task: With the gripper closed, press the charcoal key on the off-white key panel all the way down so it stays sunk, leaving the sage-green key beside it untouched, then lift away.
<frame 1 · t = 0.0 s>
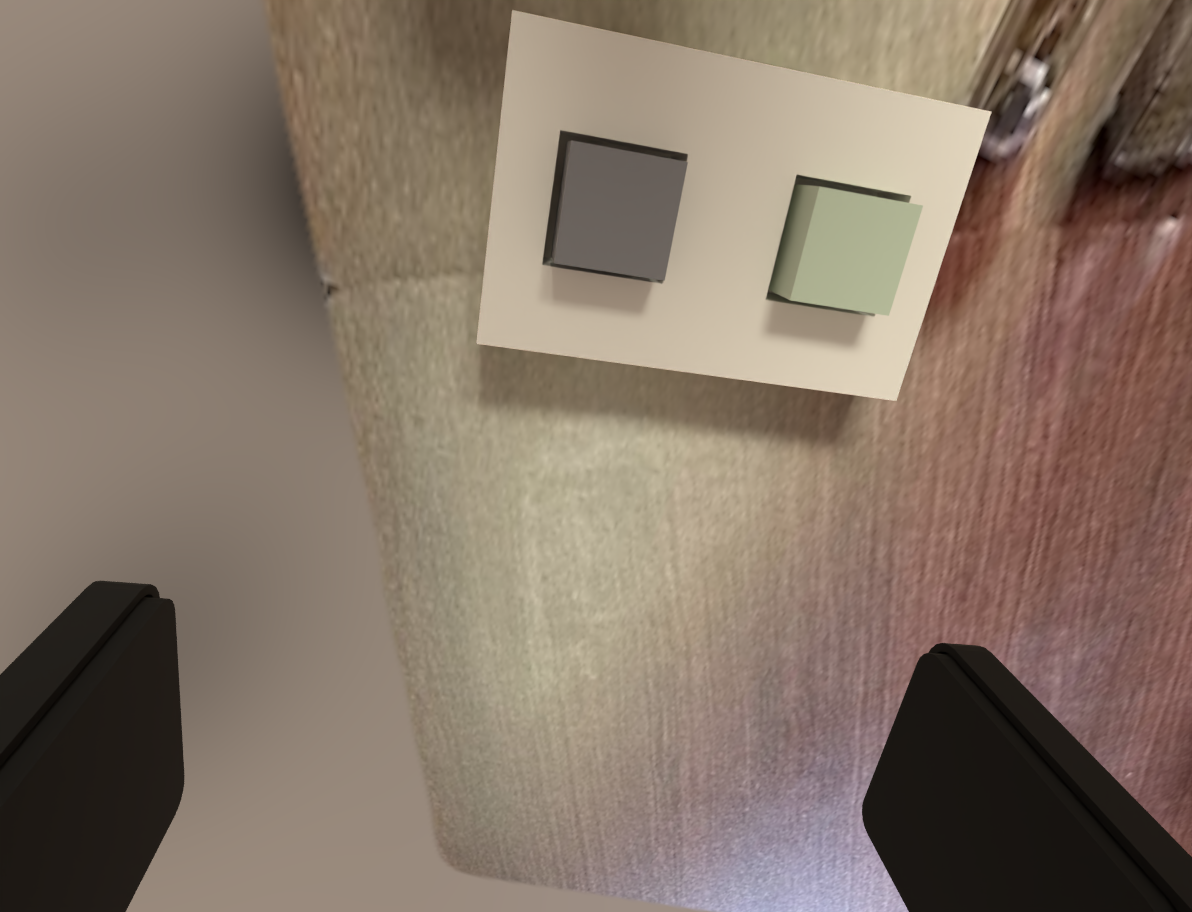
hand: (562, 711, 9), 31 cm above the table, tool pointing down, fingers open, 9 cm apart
key panel: (707, 223, 37), on the table
charcoal key: (615, 211, 32), point 4 cm above the table, slide at 0.0 cm
sage key: (841, 249, 34), point 4 cm above the table, slide at 0.0 cm
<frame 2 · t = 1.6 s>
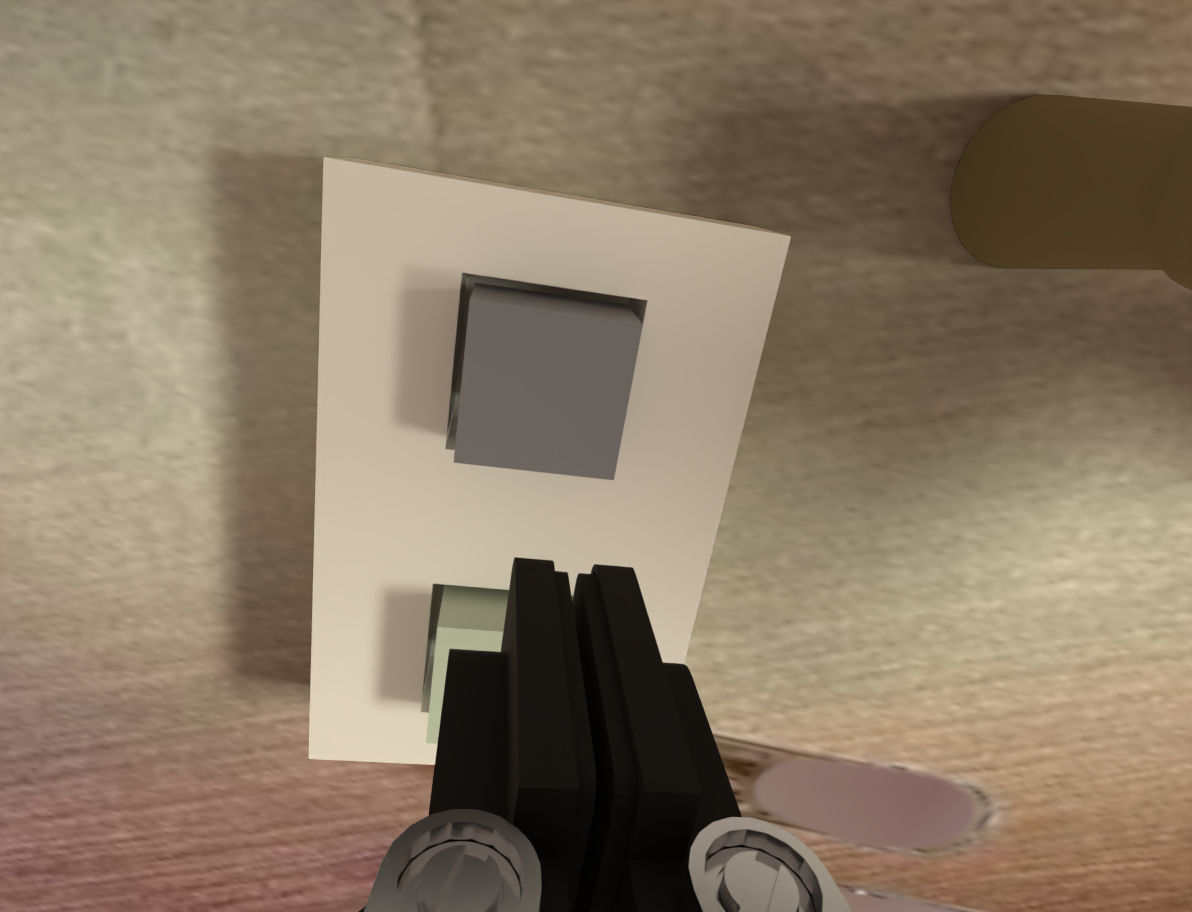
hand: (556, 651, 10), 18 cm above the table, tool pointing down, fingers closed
key panel: (522, 480, 29), on the table
charcoal key: (544, 381, 23), point 4 cm above the table, slide at 0.0 cm
sage key: (504, 664, 27), point 4 cm above the table, slide at 0.0 cm
brown pawn: (1025, 185, 27), on the table
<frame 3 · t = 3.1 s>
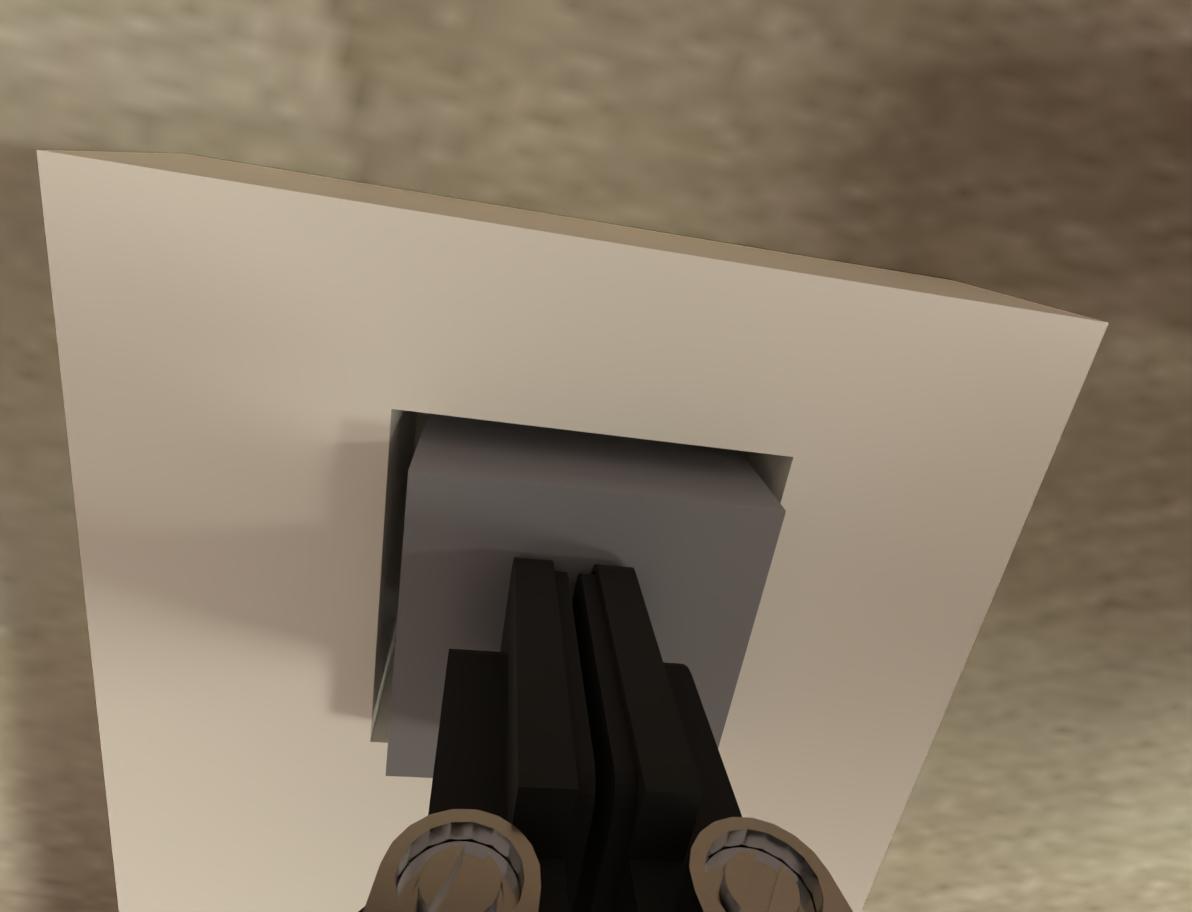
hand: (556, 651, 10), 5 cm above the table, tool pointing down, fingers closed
key panel: (524, 708, 17), on the table
charcoal key: (568, 592, 12), point 4 cm above the table, slide at 0.9 cm, touching gripper
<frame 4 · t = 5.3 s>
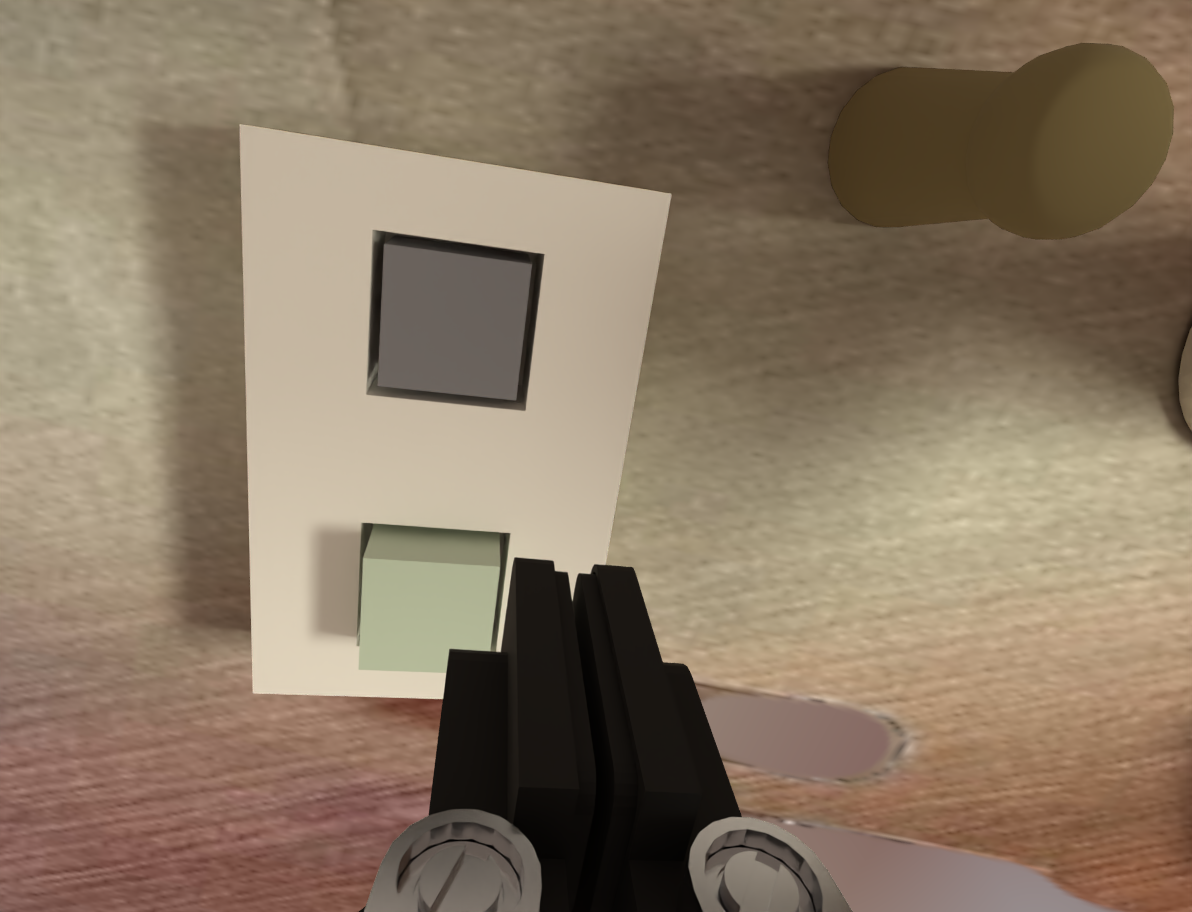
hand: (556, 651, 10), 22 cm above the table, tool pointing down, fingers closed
key panel: (447, 431, 31), on the table
charcoal key: (455, 317, 27), point 3 cm above the table, slide at 1.9 cm
sage key: (431, 597, 29), point 4 cm above the table, slide at 0.0 cm
brown pawn: (896, 150, 30), on the table
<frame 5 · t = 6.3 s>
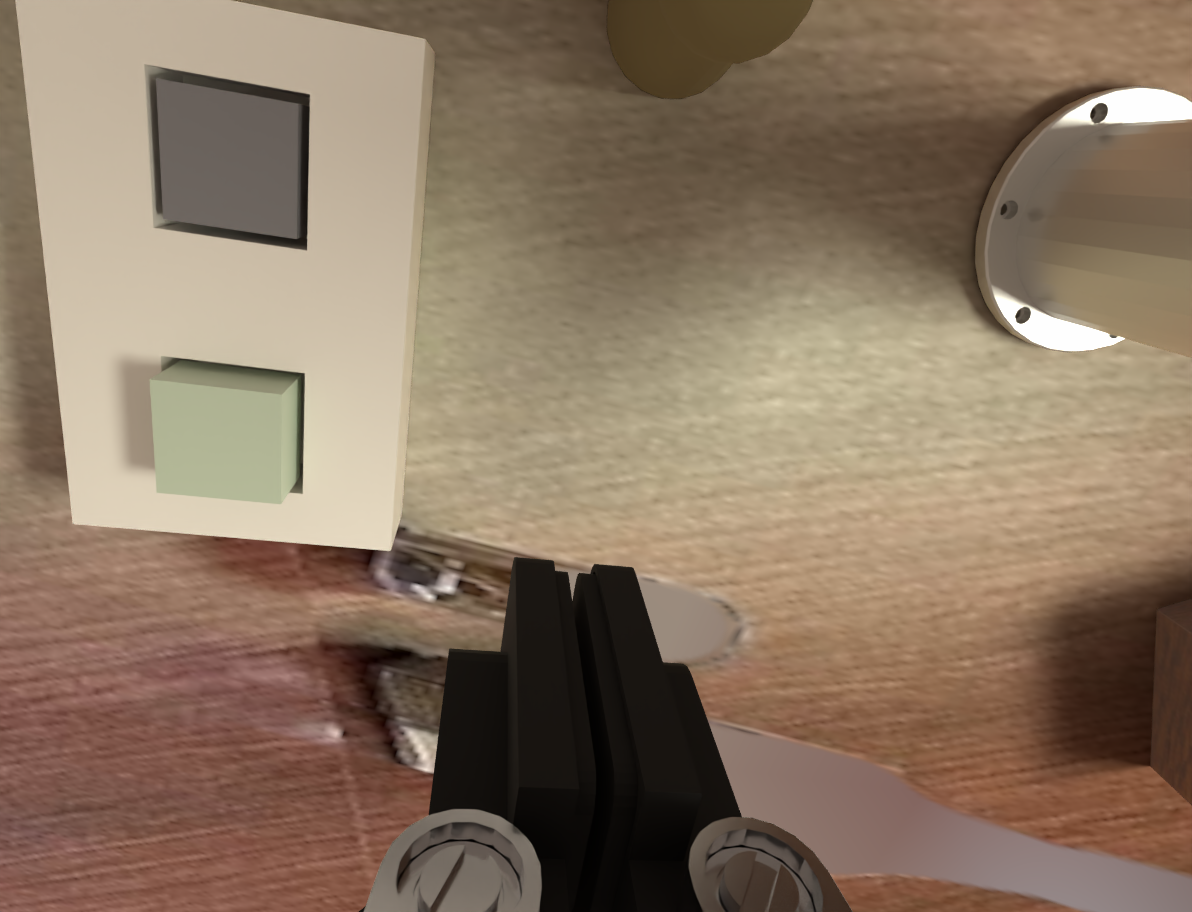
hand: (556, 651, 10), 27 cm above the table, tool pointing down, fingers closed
key panel: (263, 288, 34), on the table
charcoal key: (242, 162, 29), point 3 cm above the table, slide at 1.9 cm
sage key: (231, 432, 31), point 4 cm above the table, slide at 0.0 cm
brown pawn: (674, 22, 32), on the table
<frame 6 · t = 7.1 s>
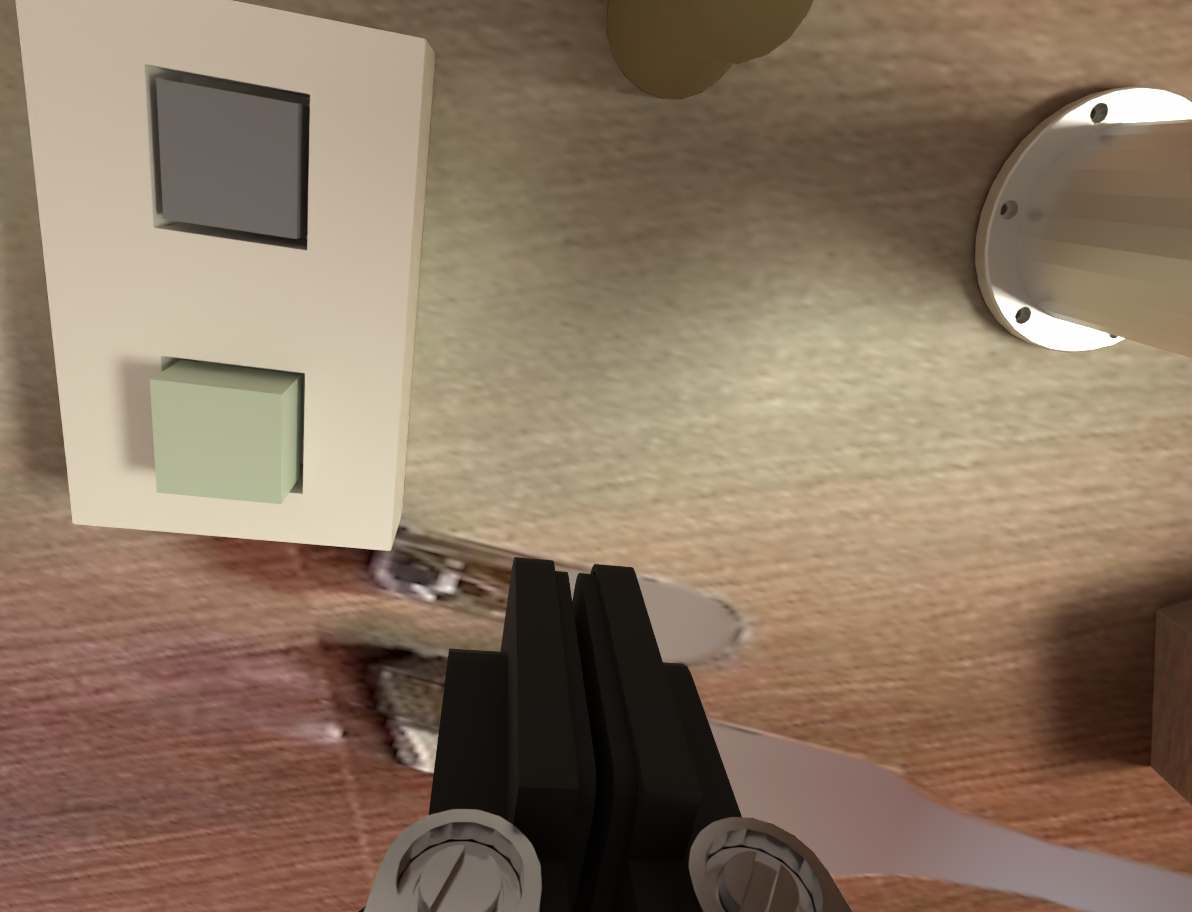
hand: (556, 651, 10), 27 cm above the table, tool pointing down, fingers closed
key panel: (263, 288, 34), on the table
charcoal key: (242, 162, 29), point 3 cm above the table, slide at 1.9 cm
sage key: (231, 431, 31), point 4 cm above the table, slide at 0.0 cm
brown pawn: (674, 22, 32), on the table
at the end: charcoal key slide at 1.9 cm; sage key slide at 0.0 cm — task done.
